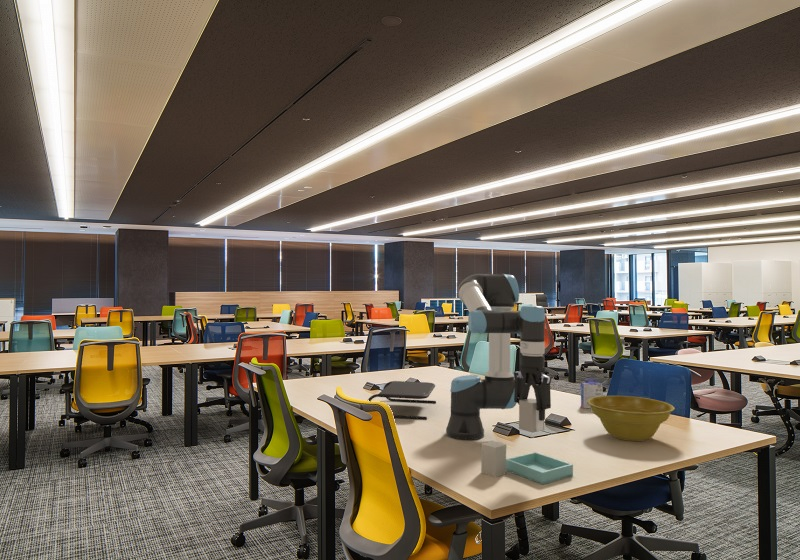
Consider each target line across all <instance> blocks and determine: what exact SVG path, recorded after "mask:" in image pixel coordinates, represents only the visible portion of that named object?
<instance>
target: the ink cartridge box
mask: <svg viewBox="0 0 800 560" xmlns="http://www.w3.org/2000/svg"><path fill="white" fill-rule="evenodd" d="M586 380H587V382H580V407H581V408H582V409H591V406H590V404H589V403H588V402H587V400H588V399H590V398H593V397H599V396H604V395H603V394H604V393H603V392H604V391H603V390H604V387H603V383H601V382H596V381H595V378H593V377H587V378H586Z"/></svg>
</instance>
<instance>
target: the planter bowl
mask: <svg viewBox="0 0 800 560" xmlns="http://www.w3.org/2000/svg"><path fill="white" fill-rule="evenodd" d="M587 402H588V403H589V404H590V406H591V408H590V409H591V411H592V413H593V414H594V415H595V416H596V417H597V418H598V419H599V420H600V422H601V424H602V426H603V428H604V429H605V431H606V433H608V434H609V435H610V436H612V437H614V438H615V439H620V440H625V441H631V442H643V441H647V440H649V439H651V438H653V437H654V436H655V434H656V433H657V431H658V429H659V428H660V425H662V424H663V423H664V422H666V421H668V419H669V417H670V416H671V415H670V414H671V413H672V412H673V411H674V410H675V408H676V407H674V406H673V405H672V404H671V403H669V402H665V401H663V400H657V399H652V398H647V397H641V396H631V395H630V396H628V395H603V396H599V397H593V398H590V399H588V400H587Z"/></svg>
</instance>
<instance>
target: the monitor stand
mask: <svg viewBox="0 0 800 560" xmlns="http://www.w3.org/2000/svg"><path fill="white" fill-rule="evenodd" d="M435 388H436V384H435V383H433V382H428V381H427V382H424V381H423V382H422V381H404V380H403V381H401V380H392V381H389V382H387V383H386V384H385V385H384V386H383V389H382V390H381V391H380V392H378V393H376V394H373V395H371V396H370V397H368V399H367V401H368V400H369V401H370V402H372V400H373V399H375V398H385V399H386V400H388V401H390V402H398V403H400V402H401V403H415V404H416V403H420V404H421V403H422V404H436V403H437V400H427V398H429V397H430V395H431V394H432V392H433V390H434V389H435ZM424 399H426V400H424ZM393 415H394V418H393V419H409V420H426V421H427V420H428V417H427V416H420V415H419V416H416V415H404V414H403V415H402V414H400V415H399V414H393Z"/></svg>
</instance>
